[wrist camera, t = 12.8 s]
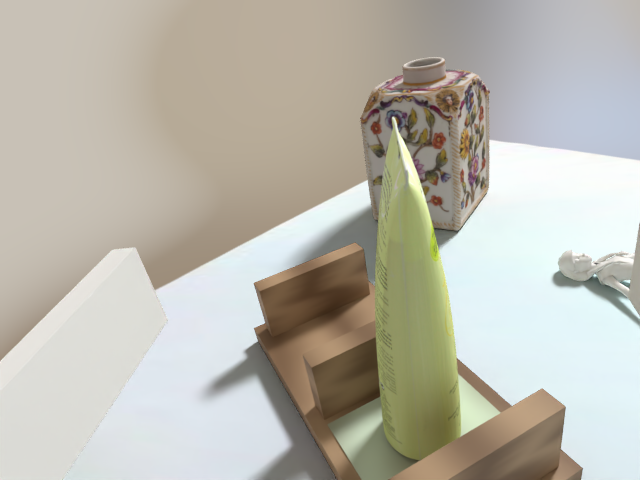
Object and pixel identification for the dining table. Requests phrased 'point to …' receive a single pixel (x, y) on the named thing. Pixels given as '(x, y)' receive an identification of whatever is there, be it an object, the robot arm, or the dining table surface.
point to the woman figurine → (598, 268)
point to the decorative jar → (432, 136)
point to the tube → (412, 317)
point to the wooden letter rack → (364, 392)
